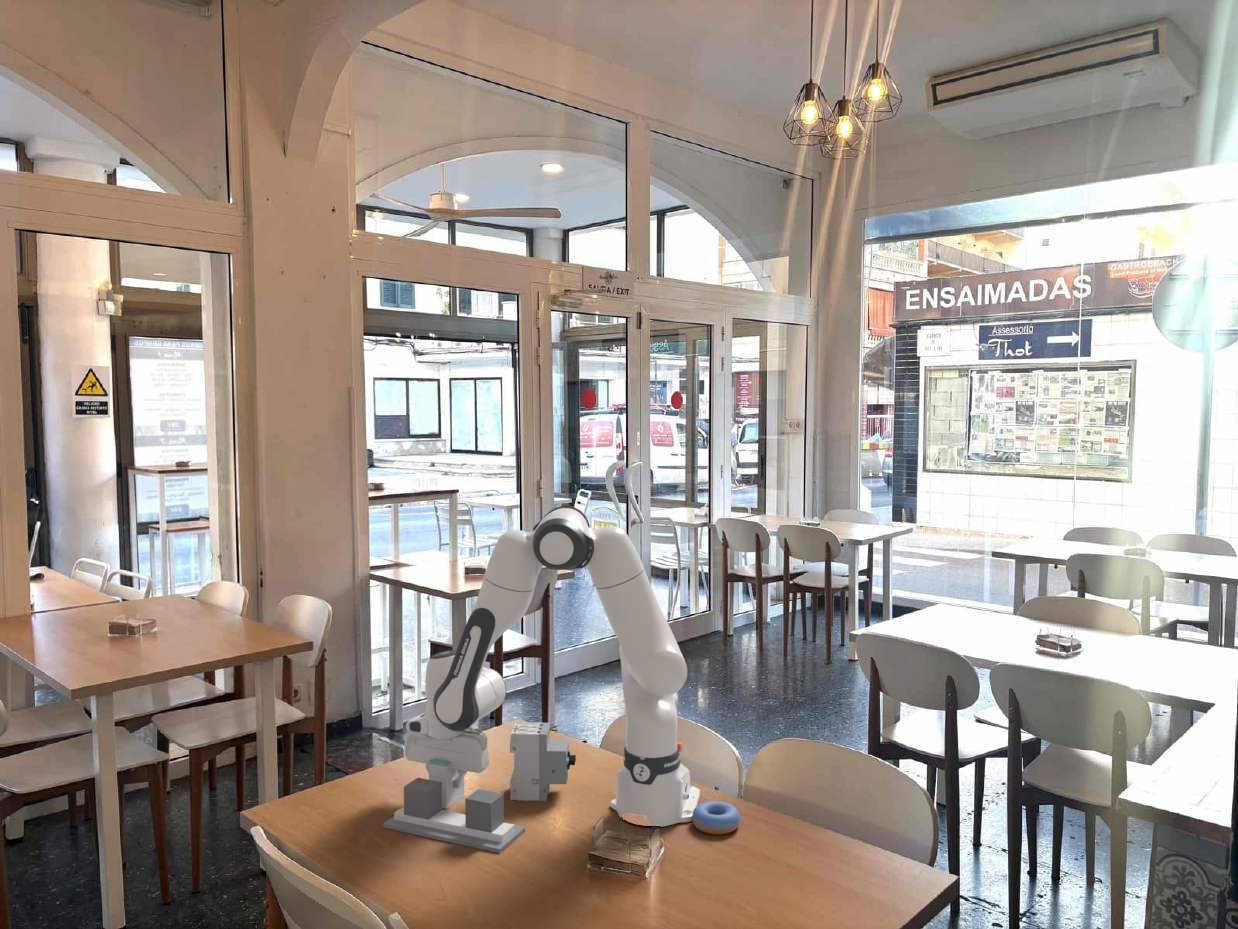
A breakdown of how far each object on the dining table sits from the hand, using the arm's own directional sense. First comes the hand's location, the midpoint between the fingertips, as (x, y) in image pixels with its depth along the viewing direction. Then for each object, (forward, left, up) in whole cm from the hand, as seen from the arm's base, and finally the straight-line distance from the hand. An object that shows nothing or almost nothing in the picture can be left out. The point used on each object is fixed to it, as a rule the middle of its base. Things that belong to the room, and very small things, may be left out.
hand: (446, 785), depth 197 cm
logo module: (0, 0, -4) cm, 4 cm away
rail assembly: (+11, +9, -4) cm, 15 cm away
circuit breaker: (-12, +18, -4) cm, 22 cm away
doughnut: (-12, +58, -4) cm, 60 cm away
